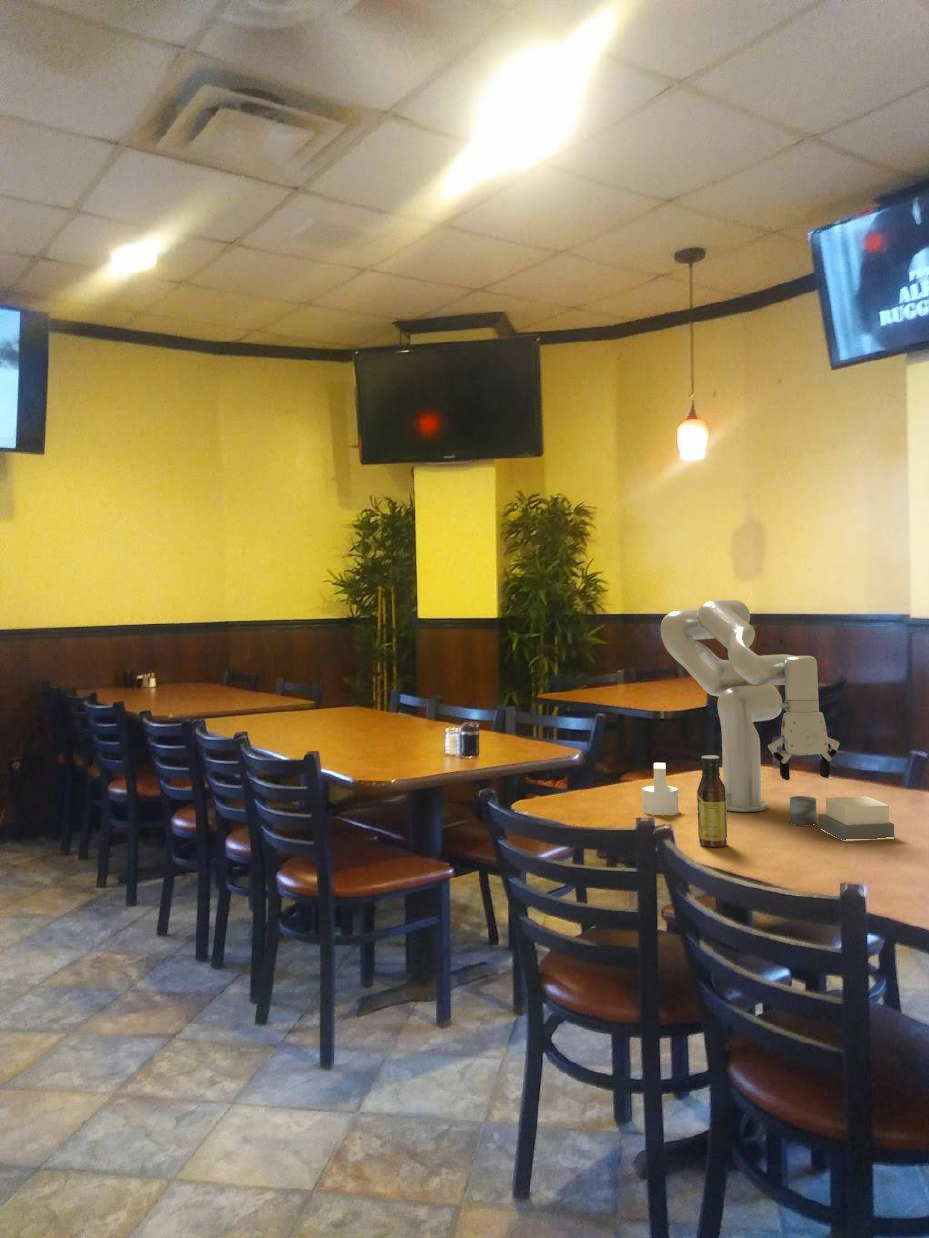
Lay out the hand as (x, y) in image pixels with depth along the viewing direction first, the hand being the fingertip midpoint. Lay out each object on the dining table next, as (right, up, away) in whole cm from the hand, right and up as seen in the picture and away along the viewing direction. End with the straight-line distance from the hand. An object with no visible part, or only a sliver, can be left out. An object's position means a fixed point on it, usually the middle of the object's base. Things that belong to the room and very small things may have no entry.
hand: (805, 778), depth 231 cm
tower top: (+8, -8, -11) cm, 15 cm away
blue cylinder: (0, -11, +1) cm, 11 cm away
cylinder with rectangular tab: (-31, -12, +17) cm, 37 cm away
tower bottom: (+8, -12, -10) cm, 18 cm away
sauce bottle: (-27, -12, -17) cm, 34 cm away
